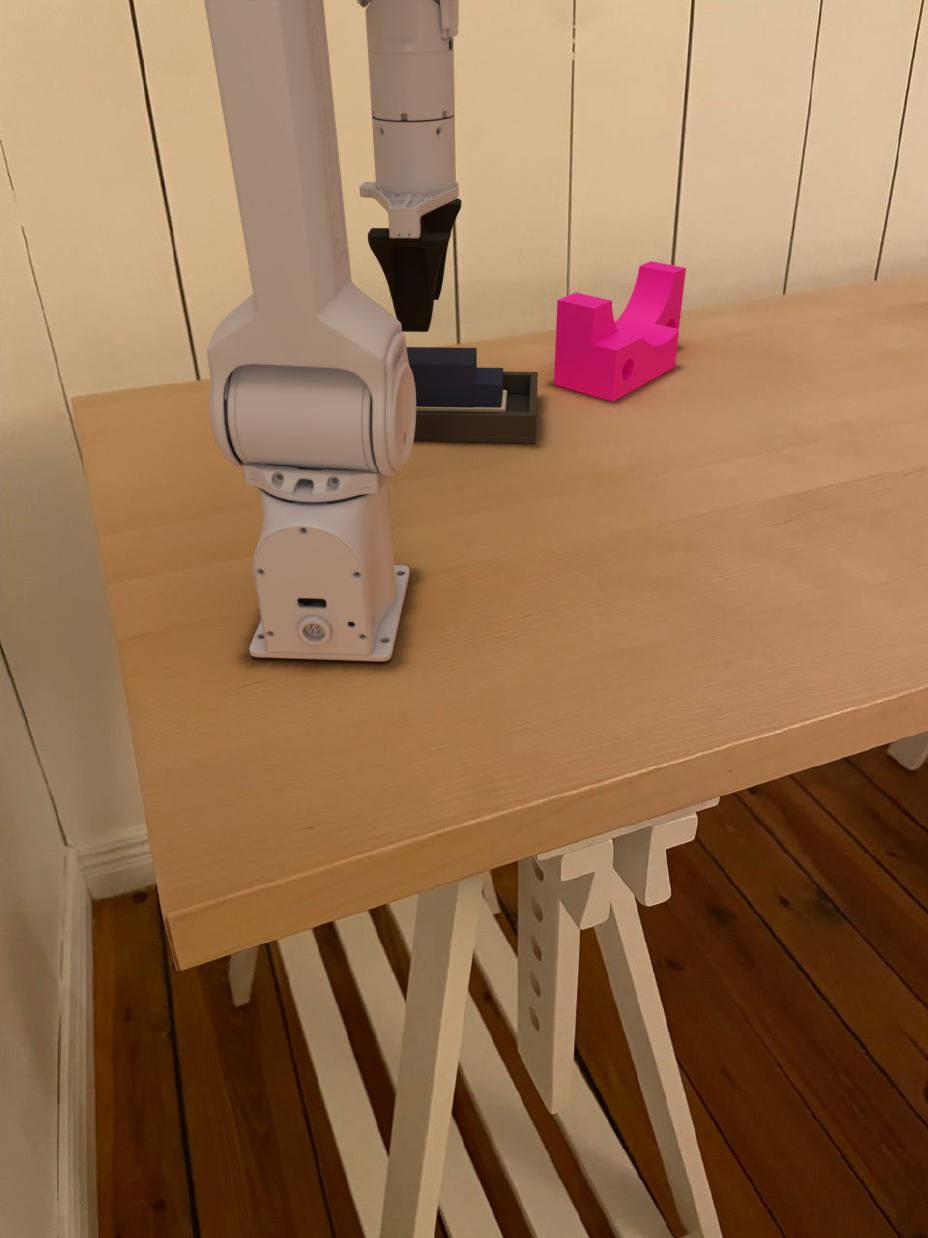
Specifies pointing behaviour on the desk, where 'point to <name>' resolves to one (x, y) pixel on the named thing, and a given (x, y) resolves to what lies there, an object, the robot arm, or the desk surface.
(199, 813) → the desk surface
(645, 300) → the toy block
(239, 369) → the robot arm
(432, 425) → the tray
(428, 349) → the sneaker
